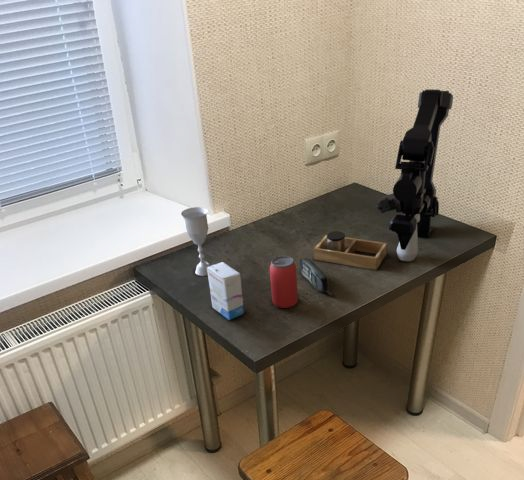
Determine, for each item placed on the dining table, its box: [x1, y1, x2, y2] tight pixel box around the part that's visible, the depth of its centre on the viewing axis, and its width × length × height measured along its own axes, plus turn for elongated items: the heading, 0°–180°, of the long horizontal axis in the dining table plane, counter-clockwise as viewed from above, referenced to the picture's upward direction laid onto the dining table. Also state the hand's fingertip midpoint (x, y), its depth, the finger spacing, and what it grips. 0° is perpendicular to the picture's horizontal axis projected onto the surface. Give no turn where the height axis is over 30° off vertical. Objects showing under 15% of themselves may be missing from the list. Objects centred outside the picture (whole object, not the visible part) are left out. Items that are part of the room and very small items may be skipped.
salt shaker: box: [396, 214, 420, 262], centre depth 154 cm, size 6×6×13 cm
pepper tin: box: [326, 230, 346, 252], centre depth 162 cm, size 5×5×6 cm
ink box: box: [207, 261, 245, 321], centre depth 141 cm, size 9×5×12 cm, turn 35°
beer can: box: [269, 255, 299, 309], centre depth 142 cm, size 7×7×12 cm
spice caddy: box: [313, 233, 388, 271], centre depth 161 cm, size 10×18×4 cm, turn 63°
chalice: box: [180, 206, 211, 277], centre depth 156 cm, size 7×7×18 cm
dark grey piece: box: [299, 257, 333, 296], centre depth 150 cm, size 5×3×15 cm
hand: (407, 241), depth 154 cm, fingers open, 9 cm apart
